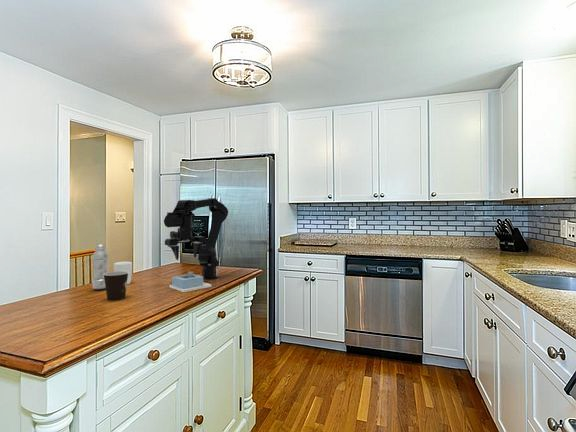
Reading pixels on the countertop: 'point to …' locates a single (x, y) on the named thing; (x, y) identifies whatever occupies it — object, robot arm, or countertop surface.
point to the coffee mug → (116, 285)
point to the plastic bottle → (100, 266)
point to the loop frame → (187, 281)
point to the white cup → (124, 269)
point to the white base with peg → (190, 275)
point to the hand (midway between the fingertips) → (186, 258)
